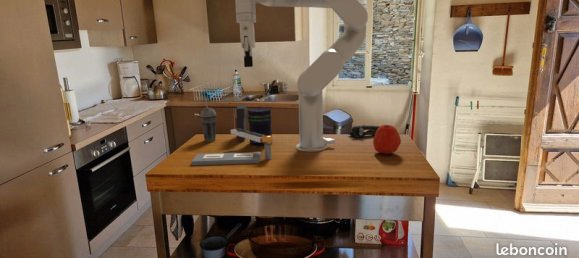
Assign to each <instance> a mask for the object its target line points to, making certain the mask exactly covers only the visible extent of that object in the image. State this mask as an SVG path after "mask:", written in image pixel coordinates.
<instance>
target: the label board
mask: <svg viewBox="0 0 579 258" xmlns="http://www.w3.org/2000/svg"><path fill="white" fill-rule="evenodd" d="M261 157H262V152H261V151H246V152H241V151H240V152H218V153H215V152H213V153H197V154H196V155H195V156H194V157H193V159H192V160H191V166H209V165H210V166H213V165H214V166H215V165H240V164H241V165H243V164H244V165H245V164H247V165H248V164H260V162H261ZM264 160H266V161H271V160H272V144H271V143H270V144H264Z"/></svg>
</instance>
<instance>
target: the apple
mask: <svg viewBox="0 0 579 258" xmlns="http://www.w3.org/2000/svg"><path fill="white" fill-rule="evenodd" d="M379 126H380V127H379V128H378V129H377V130H375V131H376V133H375V135H373V136H374V137H373V141H372V143H373V148H374V150H375V152H378V153H380V154H393V153H395V152H397V150H398V149H399V148H400V146H401V143H402V139H401V136H400V134H399V131H398V129H397V128H396V127H395V126H394V125H390V124H383V125H379Z"/></svg>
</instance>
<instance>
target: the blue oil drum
mask: <svg viewBox="0 0 579 258" xmlns="http://www.w3.org/2000/svg"><path fill="white" fill-rule="evenodd" d="M247 119H248V122H247V123H248V126H249V127H248V128H249V131H250V132H254V133H258V134H261V135H265V136H266V135H270V136H272V137H273V133H272V132H273V131H272V109H271V108H269V107H254V108H249V109H247ZM249 145H250V146H252V147H255V146H256V147H255V148H257V147H259V148H262V146H264V143H263V142H257V141H253V140H250V139H249ZM271 145H273V142H272V143H271Z"/></svg>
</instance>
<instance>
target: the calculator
mask: <svg viewBox="0 0 579 258" xmlns="http://www.w3.org/2000/svg"><path fill="white" fill-rule="evenodd" d="M247 115H248V105H247V104H240V105H238V106H237V107H235V129H238V128H240V129H243V130H247V131H248V129H247ZM235 136H236V142H245V140H246V139H247V138H244V137H240V136H237V135H235Z"/></svg>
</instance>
